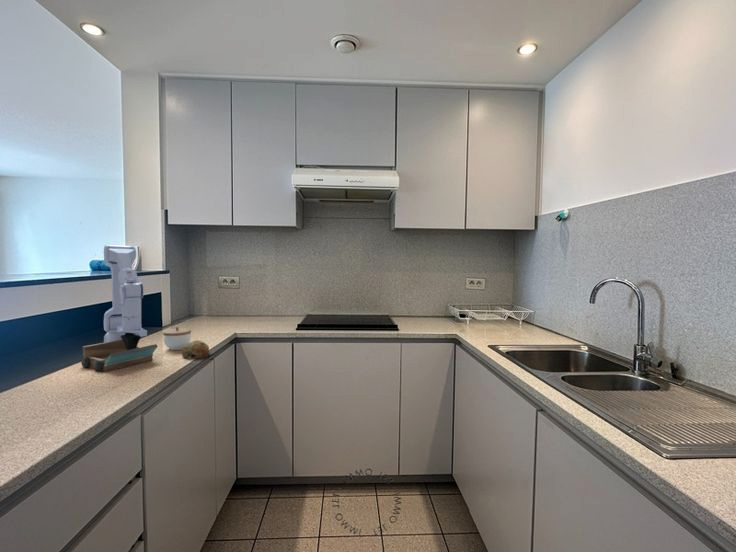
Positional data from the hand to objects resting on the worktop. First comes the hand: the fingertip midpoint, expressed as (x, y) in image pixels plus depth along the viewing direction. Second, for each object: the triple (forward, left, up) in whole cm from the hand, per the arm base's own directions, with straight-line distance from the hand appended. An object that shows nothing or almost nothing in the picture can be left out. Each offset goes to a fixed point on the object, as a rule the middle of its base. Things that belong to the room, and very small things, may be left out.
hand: (131, 353), depth 123 cm
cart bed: (-8, 0, -4) cm, 9 cm away
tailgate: (-1, 0, -2) cm, 3 cm away
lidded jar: (-9, +24, -5) cm, 26 cm away
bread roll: (+8, +20, -5) cm, 22 cm away
